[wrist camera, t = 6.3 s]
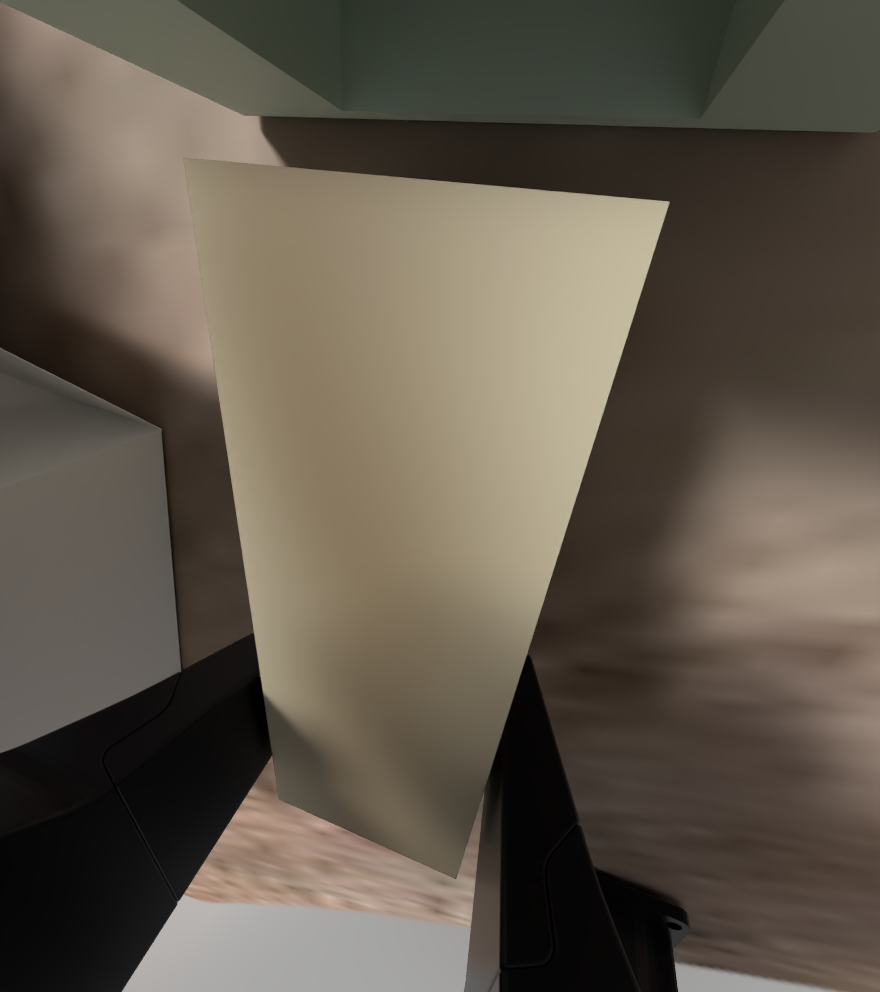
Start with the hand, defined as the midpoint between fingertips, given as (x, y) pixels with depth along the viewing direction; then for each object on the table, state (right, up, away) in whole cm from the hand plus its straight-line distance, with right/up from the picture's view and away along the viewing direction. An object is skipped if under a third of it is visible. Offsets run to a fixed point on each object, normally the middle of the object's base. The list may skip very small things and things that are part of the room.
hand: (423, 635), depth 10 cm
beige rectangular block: (+1, +3, 0) cm, 3 cm away
